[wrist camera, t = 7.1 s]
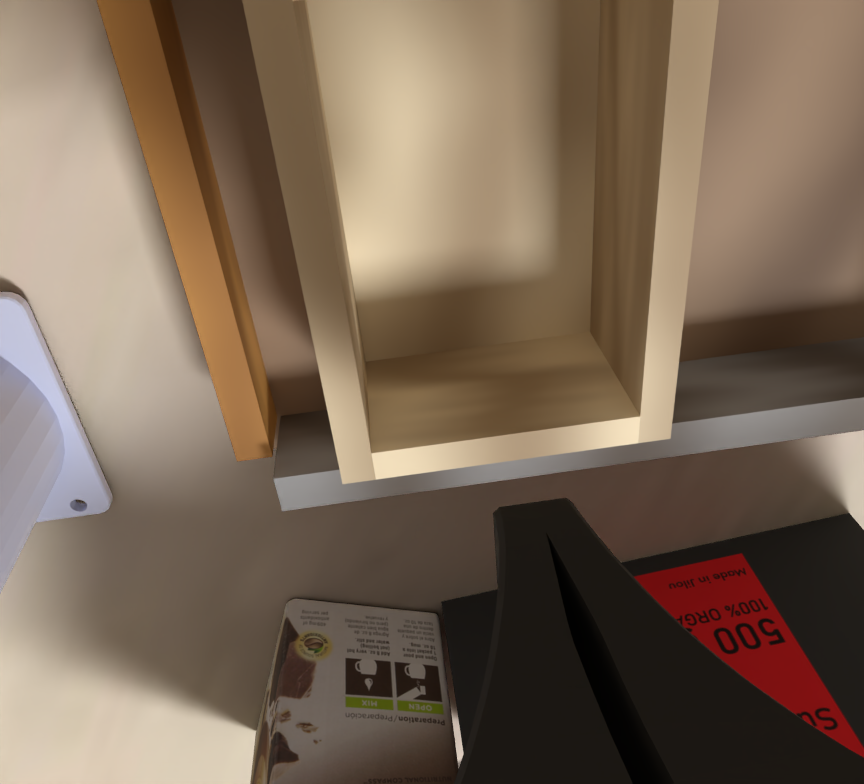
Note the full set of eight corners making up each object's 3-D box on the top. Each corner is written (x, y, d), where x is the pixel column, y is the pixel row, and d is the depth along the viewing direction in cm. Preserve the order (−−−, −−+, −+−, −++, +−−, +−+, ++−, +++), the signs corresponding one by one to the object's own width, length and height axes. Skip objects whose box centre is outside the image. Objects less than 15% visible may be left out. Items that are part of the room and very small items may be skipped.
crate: (342, 374, 22) (342, 484, 18) (260, -61, 16) (231, -50, 12) (607, 339, 22) (670, 438, 18) (628, -102, 16) (730, -106, 12)
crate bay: (253, 433, 24) (230, 570, 19) (78, -187, 15) (-49, -235, 10) (905, 344, 25) (1048, 454, 20) (1100, -293, 16) (1445, -385, 11)
